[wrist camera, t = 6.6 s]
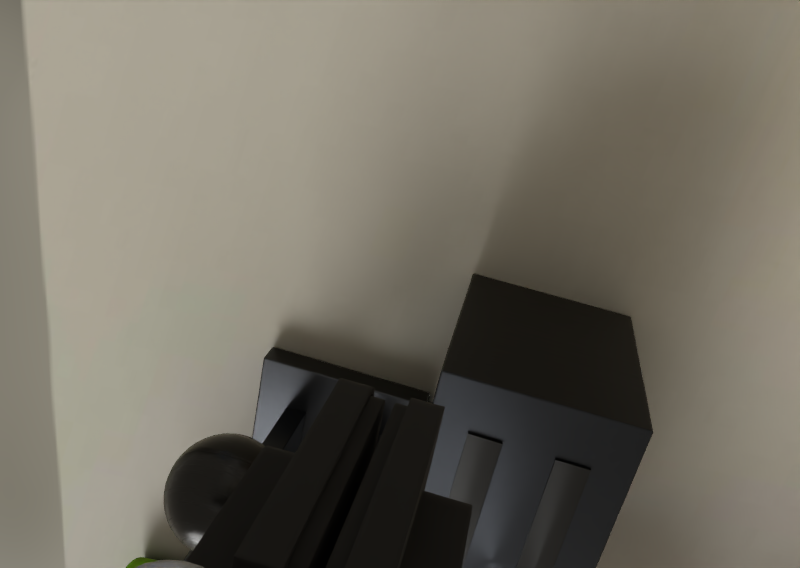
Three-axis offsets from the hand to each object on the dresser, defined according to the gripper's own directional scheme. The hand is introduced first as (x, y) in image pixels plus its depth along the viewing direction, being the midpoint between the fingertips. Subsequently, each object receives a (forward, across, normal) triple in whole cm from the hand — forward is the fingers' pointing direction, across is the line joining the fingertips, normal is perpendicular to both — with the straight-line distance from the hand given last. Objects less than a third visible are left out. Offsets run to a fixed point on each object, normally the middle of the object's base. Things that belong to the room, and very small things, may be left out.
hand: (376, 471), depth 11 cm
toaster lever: (+9, +4, +10) cm, 14 cm away
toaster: (+21, -3, +12) cm, 24 cm away
